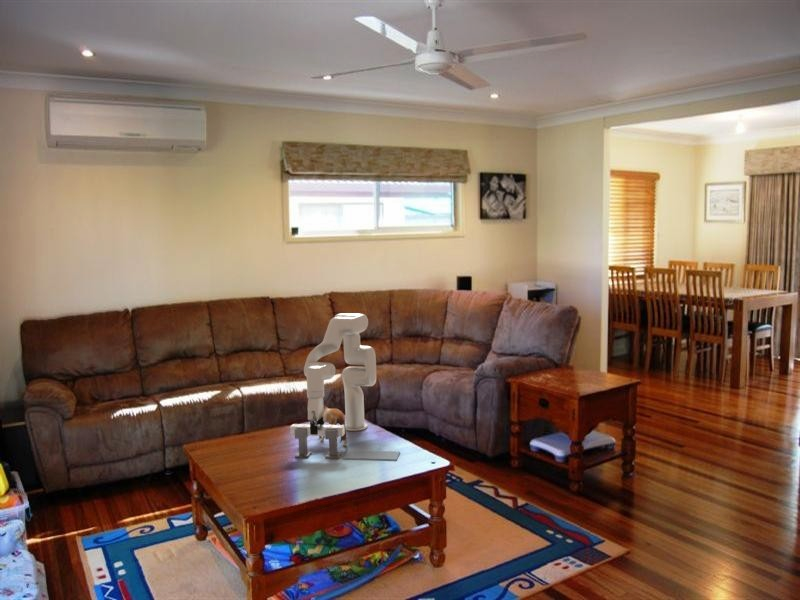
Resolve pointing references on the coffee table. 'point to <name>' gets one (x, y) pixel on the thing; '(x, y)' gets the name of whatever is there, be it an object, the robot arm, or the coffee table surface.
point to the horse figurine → (334, 420)
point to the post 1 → (302, 444)
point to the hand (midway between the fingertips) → (317, 431)
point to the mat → (371, 455)
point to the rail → (321, 429)
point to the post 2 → (332, 444)
